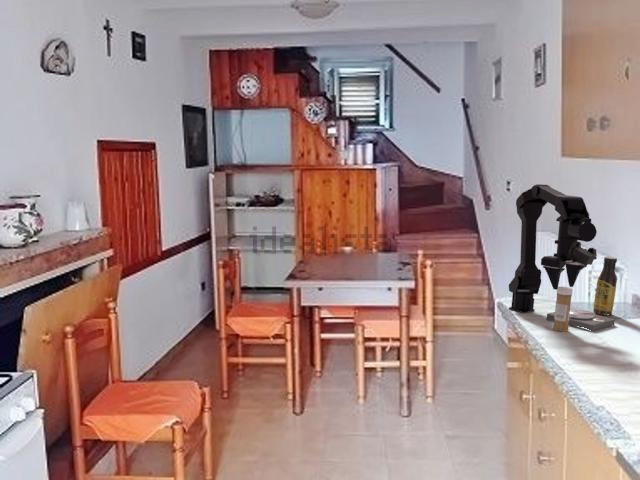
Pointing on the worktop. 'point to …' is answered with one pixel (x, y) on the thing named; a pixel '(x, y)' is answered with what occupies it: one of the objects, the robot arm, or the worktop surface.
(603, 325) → the scale
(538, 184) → the robot arm
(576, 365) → the worktop surface
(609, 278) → the sauce bottle
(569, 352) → the worktop surface
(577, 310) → the scale pan
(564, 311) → the sprinkles bottle
